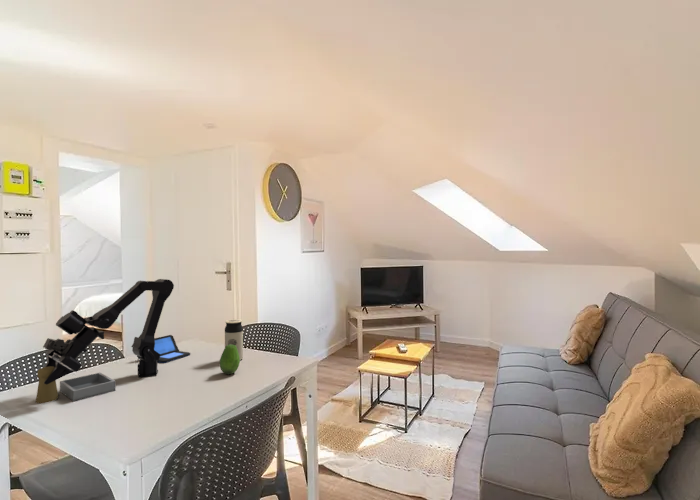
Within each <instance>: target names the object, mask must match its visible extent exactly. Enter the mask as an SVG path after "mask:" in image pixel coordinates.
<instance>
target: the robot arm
mask: <svg viewBox="0 0 700 500" xmlns="http://www.w3.org/2000/svg"><path fill="white" fill-rule="evenodd" d="M174 287H175V285H174V282H173V281H172V280H170V279H167V278H166V279H165V278H158V279H156V280H154V281H153V280H147V281H146V280H138V281H136V282H135V283H134V285H132V287H130V288H129V289H128V290H127V291H126V292H124V293H123V294H122V295H121V296H120V297H119V298H117V299H116V300H115V301H114V302H113V303H111V304H110V305H108V306H107V307H105V308H102V309H100V310H99V311H97V312H95V313H94V314H93V315H92V316H88V317H82V316H81V315H79V313H78V311H76V310H70V312H67V313H66V314H64V315H63V316H61V317H60V318H59V319H58V320H57V322H55V326H56V327H58V328H59V329H61V330H62V331H64V332H65V333H67V334H68V335H69V336H70V335H74V337H72V338H71V339H70V338H69V339H67V340H66V341H65V340H64V339H61V338H56V339H53V338H50V337H49V338H47V339H46V340H45V343H44V345H43V346H42V348H44V349H45V350H48V351H47V352H45V354H47V355H46V364H45V365H44V367H48V366H53V367H55V369H54V370H53V371H52V372H51V374H50V375H49V376H48V378H47V379H46V380H45V382H44V384H46V385H47V384H49V383H51V382H53V381H55V380H56V381H57V380H59V379H61V378H63V377H65V376H67V375H69V374H73V372H76V373H77V372H79V370H80V369H81V367H82V363H81V362H79V361H78V359H77V358H79V357H80V356H81V355H82V353H87V351H88V350H87V348H88V347H89V346H90V345H91V344H92V343H93V342H94V341H95V340H96V339H97V338H99V339H100V340H104V339H105V331H103V330H106V329H109V328H111V327H112V326H113V325H114V323H115V322H116V321H117V320H118V318H119V316H120V314H121V313H122V312H123V311H125V309H126V308H128V307H129V306H130V305H132V303H133V302H134V301H135V300H137V299H138V298H139V297H140V296H141V295H143V293H144V292H145V291H151V295H152V300H151V303H150V307H149V310H148V314H147V316H146V320H145V322H144V326H143V329H142V332H141V334H140V335H139V336H138V337H137V336H134V338H133V343H132V345H131V346H130V347H131V348H132V350H131V351H132V353H133V354H134V355H135V356H136V357H137V359H138V364H137V375H138V378H146V377H147V378H148V377H155V376H157V375H158V373H159V369H158V362H157V360H159V358H160V354H159V353H158V352H156V351H155V350H154V348H155V338H156V337H155V334H156V330H157V329H158V324H159V322H160V318H161V315H162V312H163V309H164V305H165V302H166V301H167V300H168V298H169V297H170V296H171V294H172V292H173V290H174ZM87 325H89V326H91V327H89V326H87ZM97 328H98V329H101V330H98V329H97ZM37 379H38V380H39V378H38V377H37Z"/></svg>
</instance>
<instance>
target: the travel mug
mask: <svg viewBox="0 0 700 500" xmlns="http://www.w3.org/2000/svg"><path fill="white" fill-rule="evenodd" d="M242 323H243V320H242V319H240V318H239V319H238V318H237V319H235V318H233V319H227V320H225V327H224V348H225V347H226V346H227V345H229V344H232V345H235V346H236V347H237V350H238V353H239V358H240V361H242V360H243V359H244V349H243V347H244V345H243V344H244V343H243V340H244V338H243V337H244V335H243V334H244V331H243V330H244V328H243V325H242ZM241 359H242V360H241Z"/></svg>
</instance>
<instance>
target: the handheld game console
mask: <svg viewBox="0 0 700 500" xmlns="http://www.w3.org/2000/svg"><path fill="white" fill-rule="evenodd" d="M174 337H175V336H173V335H172V334H169V335H168V334H167V335H163V336H160V337H154V338H155V348H154V350H155V351H156V352H158V353H159V354H160V358H159V360H157V363H162V364H166V363H169V362H173V361H176V360H179V359H183V358H185V357H189V356H190V355H191V352H188V351H182V350H181V351H180V349H179V347H178V345H177V343H176V340H175V338H174Z"/></svg>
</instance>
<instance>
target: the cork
mask: <svg viewBox="0 0 700 500" xmlns="http://www.w3.org/2000/svg"><path fill="white" fill-rule="evenodd" d="M54 369H55V367H53V366H48V367H45V366H43V367H40V368H39V369H38V371H36V372H37V373H36V374H37V375H36V376H37V379H38V378H39V379H38V384H37V391H36V397H35V403H36V404H47V403H50V402H53V401H56V400H58V399H59V393H58V392H59V391H58V387H57V382H56V381H57V380H55V381H53V382H51V383H49V384H47V385H46V384H44V382H45V380H46V379H47V378H48V376H49V375H50V374H51V372H52V371H53V370H54Z"/></svg>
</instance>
